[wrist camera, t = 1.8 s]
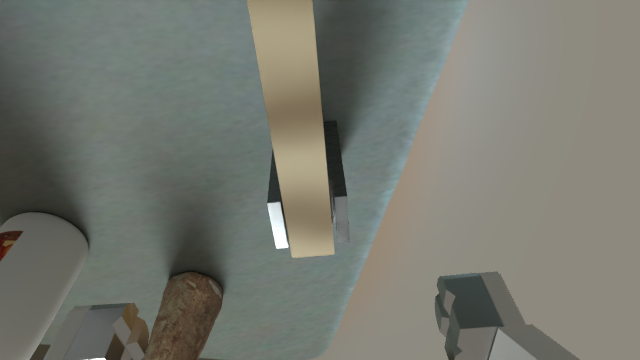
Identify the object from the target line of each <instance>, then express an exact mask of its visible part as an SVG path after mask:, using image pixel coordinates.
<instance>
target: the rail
mask: <svg viewBox="0 0 640 360" xmlns="http://www.w3.org/2000/svg"><path fill="white" fill-rule="evenodd" d="M247 3H248V9H249V15H250V20H251V26H252V32H253V37H254V43H255V49H256V54H257V60H258V66H259V71H260V77H261V83H262V89H263V94H264V100H265V106H266V111H267V117H268V123H269V128H270V134H271V140H272V145H273V151H274V157H275V162H276V168H277V174H278V179H279V185H280V191H281V197H282V202H283V208H284V214H285V219H286V225H287V231H288V236H289V242H290V248H291V253H292V258H299V257H311V256H322V255H334V242H333V231H332V219H331V208H330V197H329V185H328V174H327V162H326V151H325V139H324V128H323V117H322V105H321V94H320V82H319V71H318V60H317V48H316V37H315V25H314V14H313V3H312V0H247Z"/></svg>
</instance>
